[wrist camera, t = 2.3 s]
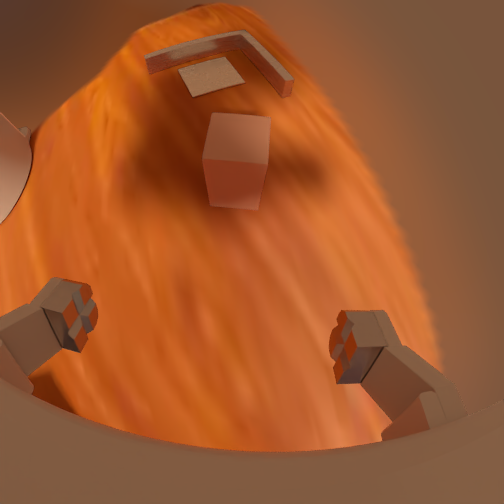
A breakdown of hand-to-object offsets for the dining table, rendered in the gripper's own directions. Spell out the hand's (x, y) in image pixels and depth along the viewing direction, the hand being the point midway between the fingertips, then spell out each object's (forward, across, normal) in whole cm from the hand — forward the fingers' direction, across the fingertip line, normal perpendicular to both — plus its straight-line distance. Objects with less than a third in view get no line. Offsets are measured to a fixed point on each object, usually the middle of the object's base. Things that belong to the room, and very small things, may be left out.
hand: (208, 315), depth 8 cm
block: (+20, 0, +2) cm, 20 cm away
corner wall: (+32, +6, -10) cm, 34 cm away
